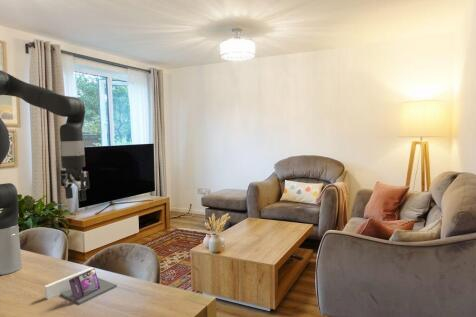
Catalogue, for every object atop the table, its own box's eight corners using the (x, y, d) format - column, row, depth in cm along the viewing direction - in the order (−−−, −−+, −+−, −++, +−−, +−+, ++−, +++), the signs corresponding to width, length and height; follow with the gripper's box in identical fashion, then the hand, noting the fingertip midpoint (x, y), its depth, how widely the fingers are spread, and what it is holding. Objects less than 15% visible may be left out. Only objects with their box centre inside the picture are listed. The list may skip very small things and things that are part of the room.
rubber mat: (60, 295, 105) (60, 293, 105) (97, 279, 115) (97, 277, 115) (79, 304, 98) (79, 302, 98) (116, 286, 109) (116, 285, 109)
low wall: (45, 298, 103) (44, 285, 103) (92, 278, 116) (91, 267, 116) (47, 299, 102) (46, 287, 102) (94, 279, 115) (94, 268, 115)
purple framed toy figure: (70, 279, 99) (95, 268, 107) (60, 281, 102) (86, 270, 110) (77, 301, 99) (101, 287, 107) (67, 302, 101) (91, 289, 109)
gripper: (51, 154, 115) (54, 199, 117) (73, 155, 107) (76, 203, 109) (72, 152, 121) (75, 195, 123) (94, 153, 113) (97, 199, 115)
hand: (75, 199), depth 116 cm, fingers open, 8 cm apart
